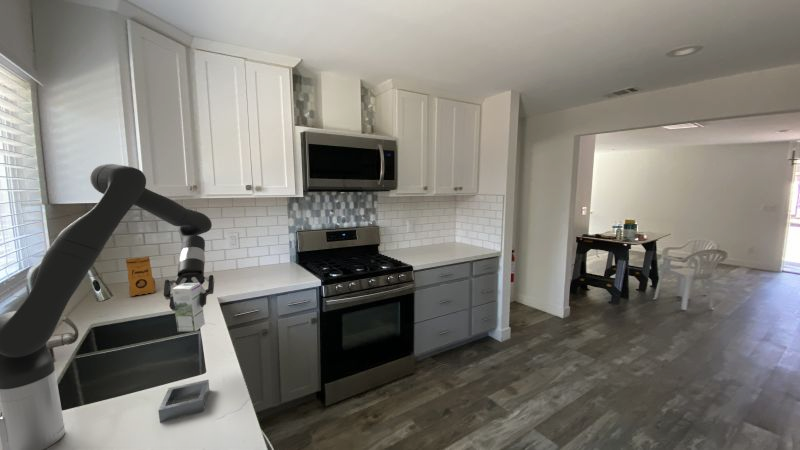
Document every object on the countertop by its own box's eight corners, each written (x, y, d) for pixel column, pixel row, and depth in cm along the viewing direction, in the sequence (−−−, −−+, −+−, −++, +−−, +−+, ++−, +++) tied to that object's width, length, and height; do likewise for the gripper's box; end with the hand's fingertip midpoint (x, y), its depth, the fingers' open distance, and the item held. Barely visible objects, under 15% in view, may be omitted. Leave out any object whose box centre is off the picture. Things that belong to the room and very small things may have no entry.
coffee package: (155, 294, 189) (151, 257, 186) (128, 298, 182) (123, 260, 180) (157, 289, 197) (153, 254, 195) (131, 293, 191) (126, 257, 188)
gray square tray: (159, 422, 86) (158, 410, 86) (170, 399, 95) (168, 388, 95) (203, 411, 90) (202, 399, 89) (209, 390, 99) (208, 379, 99)
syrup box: (205, 323, 107) (201, 281, 105) (195, 332, 101) (190, 287, 100) (188, 324, 107) (183, 282, 105) (176, 332, 101) (171, 288, 99)
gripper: (163, 259, 105) (157, 306, 96) (213, 255, 111) (212, 299, 102) (169, 271, 111) (164, 316, 102) (217, 266, 117) (215, 309, 107)
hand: (188, 307), depth 102 cm, fingers closed on syrup box, 7 cm apart
